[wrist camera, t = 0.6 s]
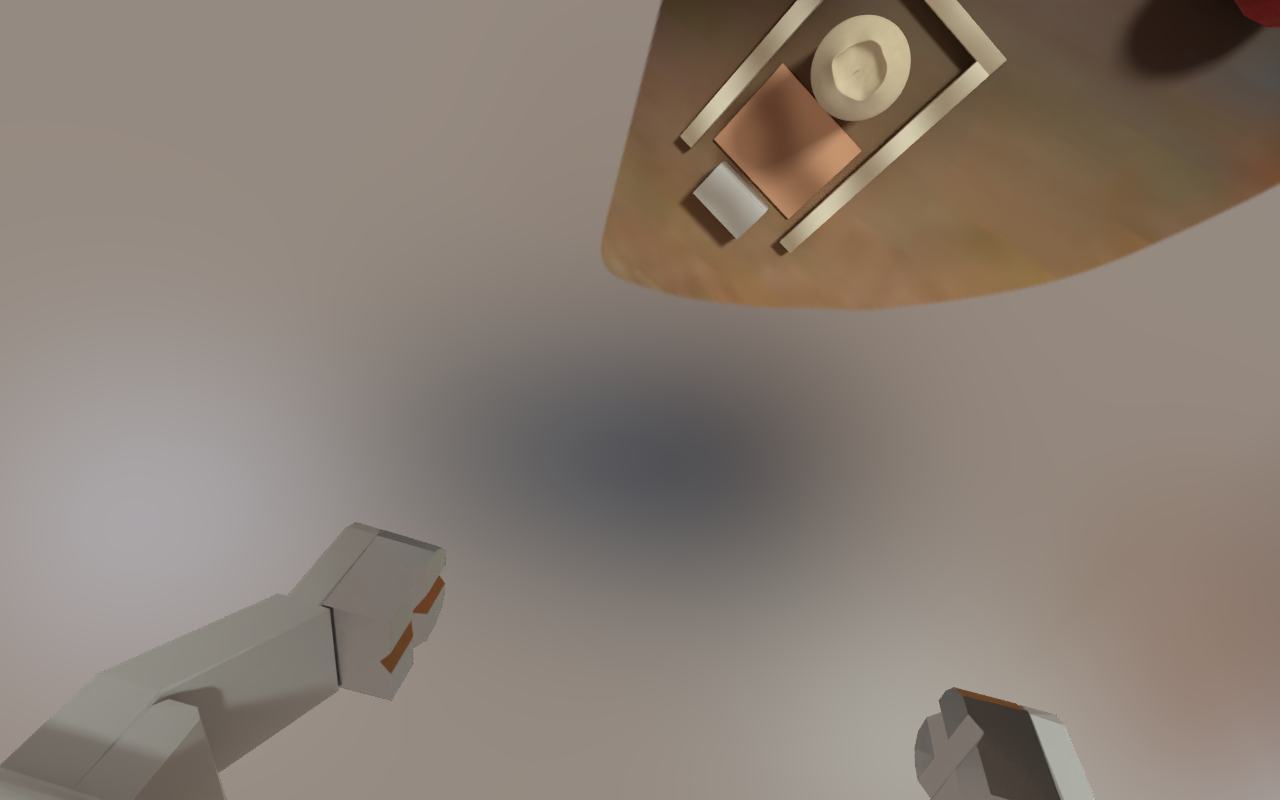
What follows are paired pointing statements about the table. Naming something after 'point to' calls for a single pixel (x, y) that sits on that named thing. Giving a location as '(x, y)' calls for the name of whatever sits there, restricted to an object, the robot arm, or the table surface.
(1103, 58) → the table surface
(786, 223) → the table surface
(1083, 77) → the table surface
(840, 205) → the beige frame
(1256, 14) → the onion
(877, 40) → the candle
